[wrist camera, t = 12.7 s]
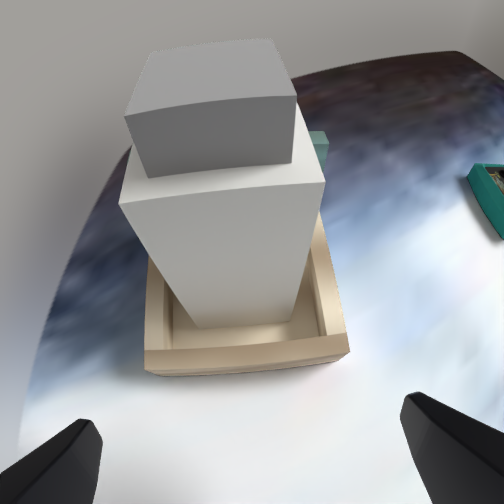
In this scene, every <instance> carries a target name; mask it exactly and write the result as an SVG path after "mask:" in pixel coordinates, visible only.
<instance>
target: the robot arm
mask: <svg viewBox="0 0 504 504" xmlns="http://www.w3.org/2000/svg"><path fill="white" fill-rule="evenodd" d="M400 421H401V424H402V427H403V430H404V433H405V436H406V439H407V442H408V445H409V448H410V452H411V455H412V458H413V460H414V463H415V465H416V468H417V470H418V472H419V474H420V476H421V479H422V481H423V483H424V485H425V487H426V490H427V492H428V494H429V497H430V499H431V501H432V504H504V433H503V432H501V431H499V430H496V429H494V428H492V427H490V426H488V425H486V424H484V423H482V422H480V421H477V420H475V419H473V418H471V417H469V416H467V415H465V414H463V413H461V412H459V411H457V410H455V409H453V408H451V407H449V406H447V405H445V404H443V403H441V402H439V401H437V400H435V399H433V398H431V397H429V396H427V395H425V394H423V393H422V392H414V393H411V394H408V395H406V397H405V399H404V402H403V406H402V409H401V413H400ZM102 446H103V441H102V438H101V436H100V434H99V432H98V430H97V429H96V427H95V425H94V423H93V422H92V421H91V420H87V419H78V420H76V421H75V422H73V423H72V424H71V425H69V426H68V427H66V428H65V429H64V430H62V431H61V432H59V433H58V434H57V435H55V436H54V437H52V438H51V439H49V440H48V441H47V442H45V443H44V444H42V445H41V446H39V447H38V448H37V449H35V450H34V451H32V452H31V453H29V454H28V455H26V456H25V457H24V458H22V459H21V460H19V461H18V462H16V463H15V464H13V465H12V466H10V467H9V468H7V469H6V470H4V471H3V472H1V474H0V504H92V503H93V499H94V495H95V491H96V486H97V481H98V474H99V466H100V459H101V452H102Z"/></svg>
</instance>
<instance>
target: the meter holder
mask: <svg viewBox="0 0 504 504" xmlns="http://www.w3.org/2000/svg"><path fill="white" fill-rule="evenodd" d="M308 133H309V136H310V138H311V141H312V144H313V147H314V149H315V152H316V155H317V158H318V161H319V164H320V167H321V170H322V173H323V171H324V166H325V161H326V156H327V151H328V146H329V142H328V140H327V138H326V135H325V133H324V131H312V132H308ZM130 153H131V151H130ZM129 157H130V154H129ZM128 161H129V158H128ZM127 164H128V162H127ZM349 352H350V349H349V343H348V338H347V332H346V327H345V322H344V317H343V312H342V307H341V302H340V297H339V292H338V288H337V283H336V278H335V274H334V269H333V265H332V261H331V256H330V252H329V248H328V244H327V240H326V236H325V232H324V228H323V224H322V220H321V216H320V212H318V217H317V221H316V225H315V229H314V233H313V237H312V241H311V245H310V249H309V253H308V257H307V260H306V264H305V268H304V272H303V275H302V279H301V283H300V287H299V290H298V294H297V297H296V301H295V305H294V308H293V312H292V315H291V319H290V321H286V322H277V323H268V324H258V325H248V326H237V327H226V328H213V329H199V328H198V327H197V326H196V324H195V323H194V321H193V320H192V319H191V317H190V316H189V314H188V313H187V311H186V310H185V308H184V307H183V306H182V304H181V303H180V301H179V300H178V298H177V297H176V295H175V294H174V292H173V291H172V289H171V288H170V286H169V285H168V283H167V282H166V280H165V279H164V277H163V276H162V274H161V273H160V271H159V269H158V268H157V266H156V265H155V263H154V262H153V260H152V259H151V257H150V255H149V258H148V271H147V286H146V304H145V334H144V370H147V371H149V372H151V373H154V374H156V375H159V376H190V375H213V374H230V373H243V372H255V371H265V370H274V369H283V368H291V367H299V366H307V365H314V364H320V363H327V362H333V361H338V360H340V359H341V358H342V357H344V356H345V355H346V354H348V353H349Z"/></svg>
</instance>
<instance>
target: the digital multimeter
mask: <svg viewBox="0 0 504 504" xmlns="http://www.w3.org/2000/svg"><path fill="white" fill-rule="evenodd" d="M467 178H468V180H469V183H470V185H471V187H472V190H473V192H474V194H475V196H476V198H477V200H478V202H479V204H480V206H481V207H482V209H483V211H484V213H485V214H486V216H487V217H488V219H489V220H490V222H491V223H492V225H493V226H494V228H495V229H496V231H497V232H498V234H499V235H500V236H501V238H502V239H504V165H500V164H481V163H475V164H474V166H473V167H472V169H471V171H470V172H469V174H468V176H467Z"/></svg>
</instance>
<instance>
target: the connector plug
mask: <svg viewBox="0 0 504 504" xmlns="http://www.w3.org/2000/svg"><path fill="white" fill-rule="evenodd" d="M124 118H125V120H126V123H127V126H128V128H129V131H130V134H131V136H132V139H133V145H132V149H131V153H130V157H129V161H128V165H127V169H126V173H125V177H124V181H123V186H122V190H121V195H120V200H119V205H120V207H121V209H122V211H123V212H124V214H125V216H126V217H127V219H128V221H129V223H130V224H131V226H132V228H133V229H134V231H135V233H136V234H137V236H138V238H139V239H140V241H141V242H142V244H143V246H144V247H145V249H146V251H147V252H148V254H149V255H150V257H151V259H152V260H153V262H154V263H155V265H156V266H157V268H158V269H159V271H160V273H161V274H162V276H163V277H164V279H165V280H166V282H167V283H168V285H169V286H170V288H171V289H172V291H173V292H174V294H175V295H176V297H177V298H178V300H179V301H180V303H181V304H182V306H183V307H184V308H185V310H186V311H187V313H188V314H189V316H190V317H191V319H192V320H193V321H194V323H195V324H196V326H197V327H198V328H199V329H213V328H226V327H237V326H248V325H258V324H268V323H277V322H286V321H290V319H291V315H292V312H293V308H294V305H295V301H296V297H297V294H298V290H299V287H300V283H301V279H302V275H303V272H304V268H305V264H306V260H307V257H308V253H309V249H310V245H311V241H312V237H313V233H314V229H315V225H316V221H317V217H318V212H319V208H320V204H321V200H322V195H323V191H324V187H325V179H324V176H323V173H322V170H321V167H320V164H319V161H318V158H317V155H316V152H315V149H314V147H313V144H312V141H311V138H310V136H309V133H308V130H307V127H306V125H305V122H304V119H303V117H302V114H301V112H300V109H299V106H298V104H297V94H296V92H295V89H294V87H293V85H292V82H291V80H290V78H289V76H288V73H287V71H286V69H285V66H284V64H283V62H282V60H281V58H280V55H279V53H278V51H277V49H276V47H275V45H274V43H273V41H272V39H248V40H234V41H223V42H213V43H205V44H197V45H191V46H185V47H178V48H173V49H167V50H161V51H157V52H152V53H151V54H150V56H149V58H148V61H147V62H146V65H145V67H144V69H143V71H142V73H141V76H140V78H139V80H138V83H137V85H136V87H135V90H134V92H133V94H132V97H131V99H130V102H129V104H128V107H127V109H126V112H125V115H124Z"/></svg>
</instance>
